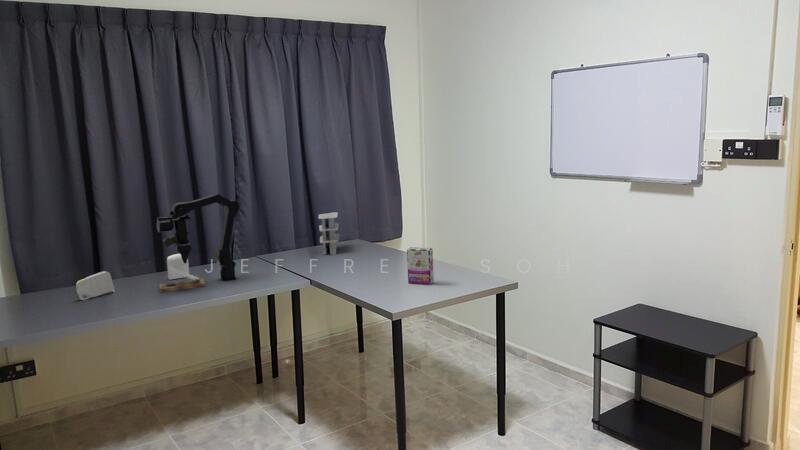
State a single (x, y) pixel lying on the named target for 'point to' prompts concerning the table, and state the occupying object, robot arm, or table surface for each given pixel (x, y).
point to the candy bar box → (420, 265)
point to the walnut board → (182, 285)
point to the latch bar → (183, 273)
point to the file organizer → (329, 232)
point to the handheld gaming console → (95, 285)
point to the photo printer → (176, 266)
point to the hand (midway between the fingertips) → (184, 261)
